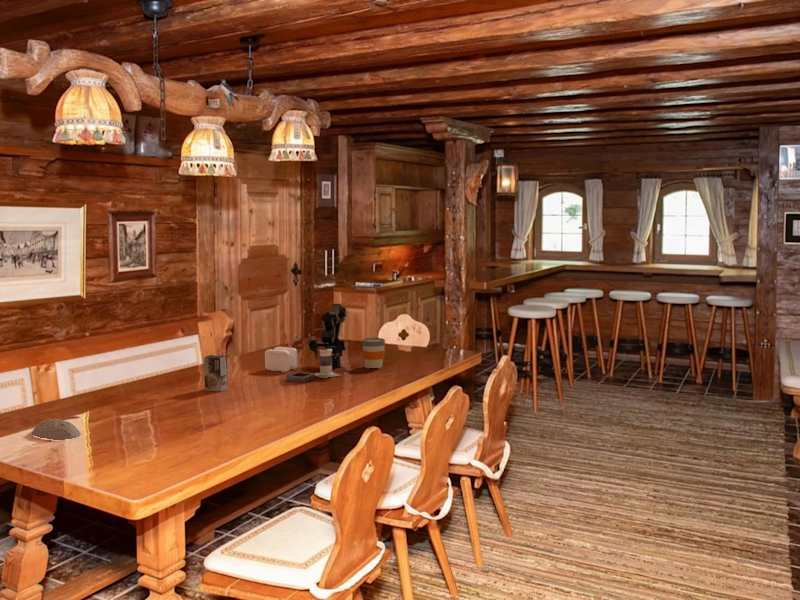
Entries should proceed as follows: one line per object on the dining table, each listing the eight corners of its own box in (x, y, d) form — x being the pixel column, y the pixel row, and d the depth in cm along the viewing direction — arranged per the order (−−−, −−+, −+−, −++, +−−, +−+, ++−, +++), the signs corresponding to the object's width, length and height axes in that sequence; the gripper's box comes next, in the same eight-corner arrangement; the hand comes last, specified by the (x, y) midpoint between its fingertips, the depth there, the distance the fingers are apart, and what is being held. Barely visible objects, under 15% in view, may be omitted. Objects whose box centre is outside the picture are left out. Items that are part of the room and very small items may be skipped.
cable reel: (326, 372, 404) (325, 347, 403) (335, 374, 400) (334, 349, 399) (316, 374, 399) (316, 349, 398) (326, 376, 395) (325, 350, 394)
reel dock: (297, 376, 397) (297, 372, 397) (315, 378, 393) (315, 373, 393) (286, 380, 388) (286, 375, 387) (304, 382, 383) (304, 377, 383)
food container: (59, 423, 308) (57, 407, 307) (93, 438, 293) (91, 421, 292) (20, 436, 297) (17, 419, 295) (53, 451, 281) (51, 434, 280)
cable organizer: (299, 369, 416) (298, 348, 415) (287, 373, 406) (287, 351, 405) (275, 367, 422) (275, 346, 421) (264, 371, 413) (263, 349, 412)
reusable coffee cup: (358, 368, 418) (358, 340, 417) (368, 364, 430) (367, 337, 428) (379, 370, 414) (379, 342, 412) (389, 365, 425) (388, 338, 424)
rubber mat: (330, 372, 407) (330, 371, 407) (340, 376, 398) (340, 375, 398) (311, 375, 401) (311, 373, 401) (321, 378, 392) (321, 377, 392)
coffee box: (228, 389, 370) (227, 355, 368) (221, 391, 364) (220, 357, 362) (211, 387, 373) (210, 354, 371) (204, 390, 367) (203, 356, 365)
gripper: (308, 324, 402) (304, 349, 392) (344, 324, 400) (341, 349, 390) (312, 337, 410) (308, 361, 401) (347, 337, 409) (344, 362, 399)
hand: (325, 358), depth 397 cm, fingers open, 9 cm apart
